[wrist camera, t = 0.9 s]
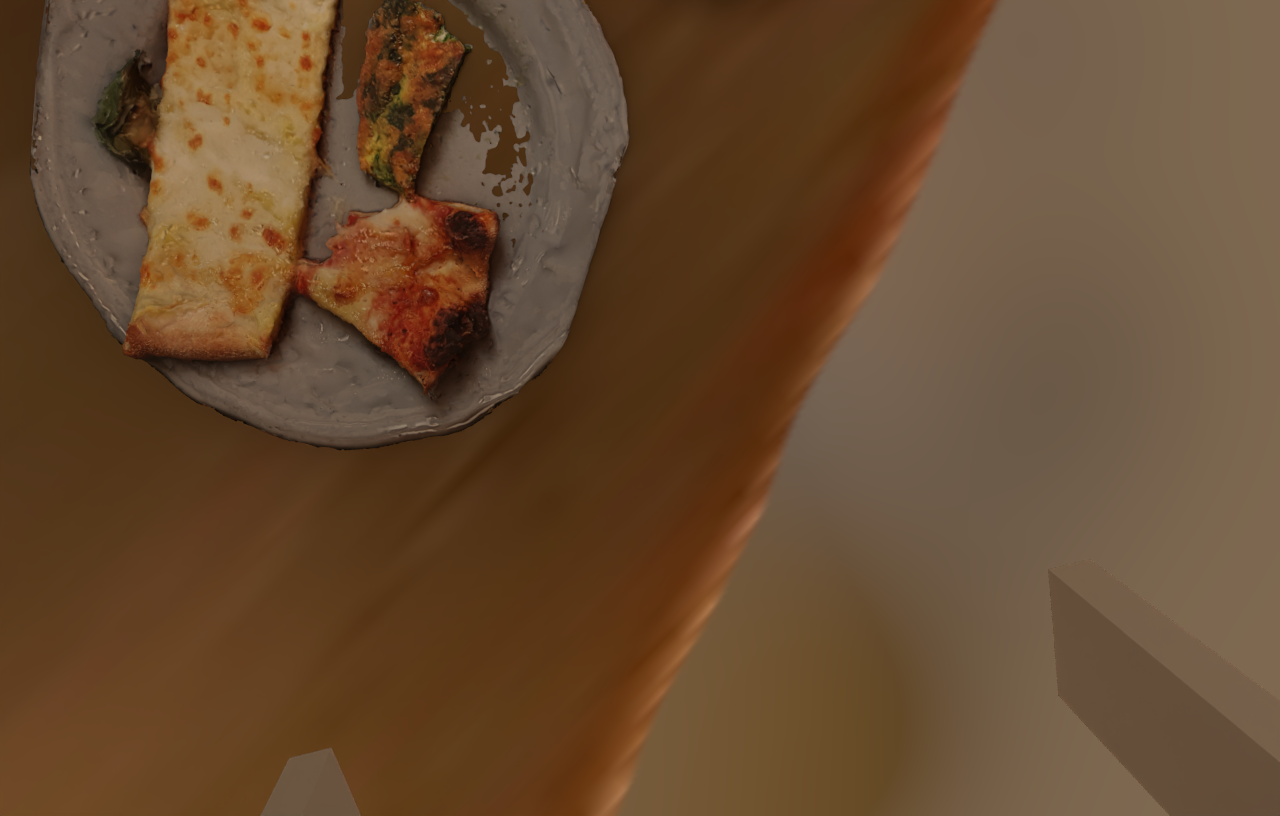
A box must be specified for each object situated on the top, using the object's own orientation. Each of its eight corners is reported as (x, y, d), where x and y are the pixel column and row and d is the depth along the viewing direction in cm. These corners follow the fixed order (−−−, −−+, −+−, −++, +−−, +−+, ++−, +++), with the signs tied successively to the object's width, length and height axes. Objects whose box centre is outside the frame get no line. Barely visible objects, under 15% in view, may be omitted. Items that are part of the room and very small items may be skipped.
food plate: (519, 490, 39) (513, 517, 36) (33, 353, 36) (-24, 369, 32) (679, -24, 34) (690, -50, 30) (124, -244, 30) (66, -300, 27)
